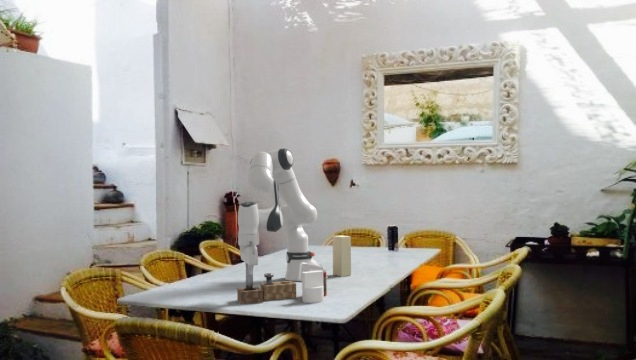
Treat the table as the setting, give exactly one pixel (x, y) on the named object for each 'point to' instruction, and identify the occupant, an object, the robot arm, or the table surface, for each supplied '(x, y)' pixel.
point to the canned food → (323, 279)
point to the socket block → (279, 290)
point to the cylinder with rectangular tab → (312, 286)
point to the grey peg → (249, 280)
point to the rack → (250, 295)
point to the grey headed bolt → (269, 278)
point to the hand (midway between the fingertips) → (249, 273)
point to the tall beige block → (341, 255)
